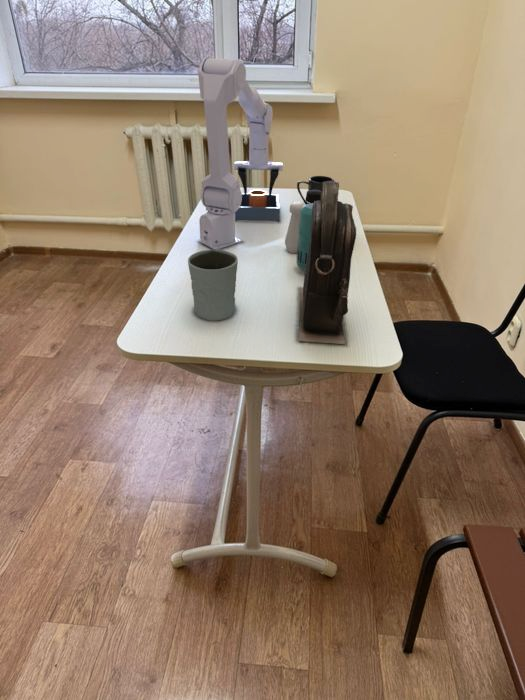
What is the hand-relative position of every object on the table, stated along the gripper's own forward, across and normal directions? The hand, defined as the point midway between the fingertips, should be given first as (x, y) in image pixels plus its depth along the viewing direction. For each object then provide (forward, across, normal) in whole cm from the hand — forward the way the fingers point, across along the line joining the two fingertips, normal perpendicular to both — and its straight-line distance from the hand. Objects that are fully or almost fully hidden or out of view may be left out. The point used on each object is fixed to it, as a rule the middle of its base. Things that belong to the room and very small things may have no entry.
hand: (257, 193), depth 148 cm
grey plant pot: (+7, +9, +60) cm, 61 cm away
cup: (+6, 0, 0) cm, 6 cm away
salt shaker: (+7, -10, +28) cm, 30 cm away
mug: (+7, -19, -7) cm, 21 cm away
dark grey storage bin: (+7, 0, 0) cm, 7 cm away
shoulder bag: (+7, -14, +61) cm, 63 cm away
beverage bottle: (+7, -13, +40) cm, 42 cm away
